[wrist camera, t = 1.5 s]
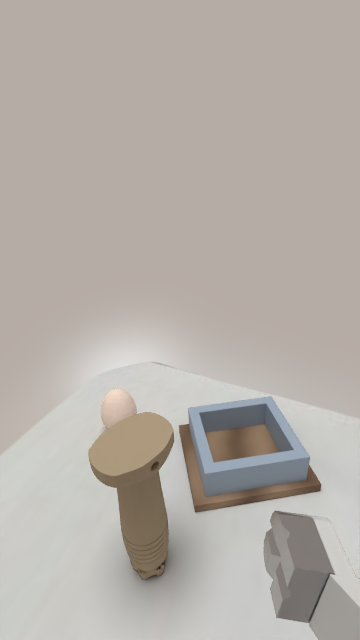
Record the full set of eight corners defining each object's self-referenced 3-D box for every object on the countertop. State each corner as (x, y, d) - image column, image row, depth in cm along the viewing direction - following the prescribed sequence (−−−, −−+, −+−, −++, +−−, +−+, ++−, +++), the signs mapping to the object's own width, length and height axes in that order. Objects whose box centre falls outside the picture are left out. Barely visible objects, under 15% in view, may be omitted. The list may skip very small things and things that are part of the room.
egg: (123, 447, 43) (117, 407, 40) (97, 434, 45) (89, 395, 43) (145, 424, 47) (140, 386, 44) (120, 413, 49) (114, 376, 46)
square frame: (269, 416, 45) (271, 396, 44) (306, 480, 36) (309, 456, 35) (189, 428, 44) (188, 407, 43) (205, 497, 35) (204, 473, 33)
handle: (192, 553, 31) (185, 431, 24) (140, 615, 27) (115, 488, 20) (158, 519, 34) (144, 404, 28) (106, 570, 30) (76, 449, 23)
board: (275, 417, 47) (276, 411, 46) (320, 490, 36) (321, 484, 35) (179, 431, 45) (179, 425, 45) (195, 512, 34) (195, 505, 34)
